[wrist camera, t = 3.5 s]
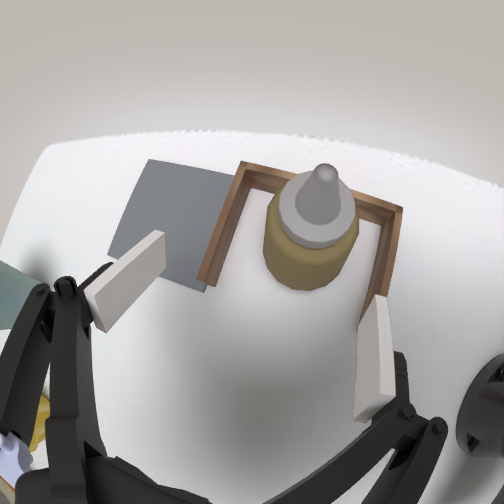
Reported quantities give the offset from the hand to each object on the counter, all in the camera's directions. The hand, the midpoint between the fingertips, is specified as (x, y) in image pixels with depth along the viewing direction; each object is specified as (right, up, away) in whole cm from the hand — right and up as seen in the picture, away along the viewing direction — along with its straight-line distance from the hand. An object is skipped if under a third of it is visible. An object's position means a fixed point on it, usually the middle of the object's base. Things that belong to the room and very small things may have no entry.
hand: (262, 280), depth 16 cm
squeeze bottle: (+5, +1, +14) cm, 15 cm away
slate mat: (-10, +6, +16) cm, 20 cm away
